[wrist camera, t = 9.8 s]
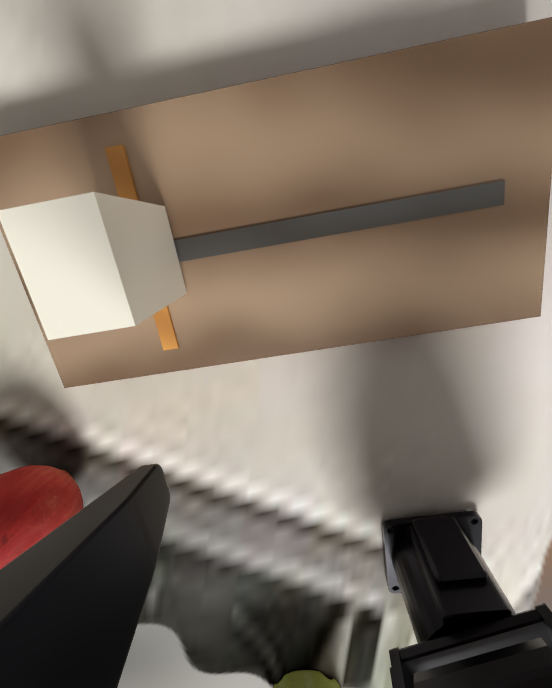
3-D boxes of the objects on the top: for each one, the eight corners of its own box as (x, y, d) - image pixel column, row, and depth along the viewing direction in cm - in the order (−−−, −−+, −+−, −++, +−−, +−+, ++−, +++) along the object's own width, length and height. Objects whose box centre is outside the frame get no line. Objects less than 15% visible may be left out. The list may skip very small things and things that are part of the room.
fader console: (514, 307, 19) (543, 317, 16) (84, 373, 20) (62, 389, 18) (528, 42, 15) (567, 11, 13) (2, 153, 17) (-39, 142, 15)
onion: (123, 495, 23) (45, 623, 16) (53, 518, 24) (-53, 649, 17) (77, 427, 22) (-35, 532, 14) (4, 454, 23) (-138, 567, 15)
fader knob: (187, 293, 17) (135, 325, 11) (128, 303, 17) (47, 340, 11) (164, 206, 15) (93, 191, 10) (102, 218, 16) (-5, 210, 10)
